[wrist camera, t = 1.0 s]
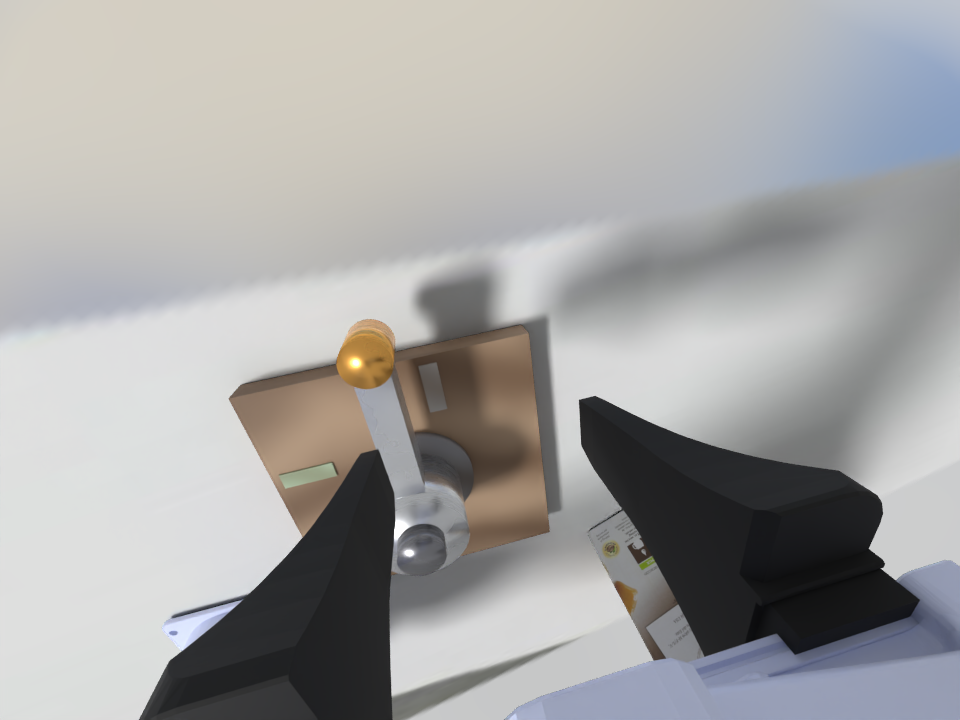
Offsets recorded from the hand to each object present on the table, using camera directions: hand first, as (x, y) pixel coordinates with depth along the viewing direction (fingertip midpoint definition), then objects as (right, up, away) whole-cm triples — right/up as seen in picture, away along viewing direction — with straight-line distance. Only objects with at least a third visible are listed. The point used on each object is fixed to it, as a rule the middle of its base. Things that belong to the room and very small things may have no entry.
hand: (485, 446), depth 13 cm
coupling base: (-4, -4, +11) cm, 13 cm away
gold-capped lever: (-5, -1, +7) cm, 9 cm away
